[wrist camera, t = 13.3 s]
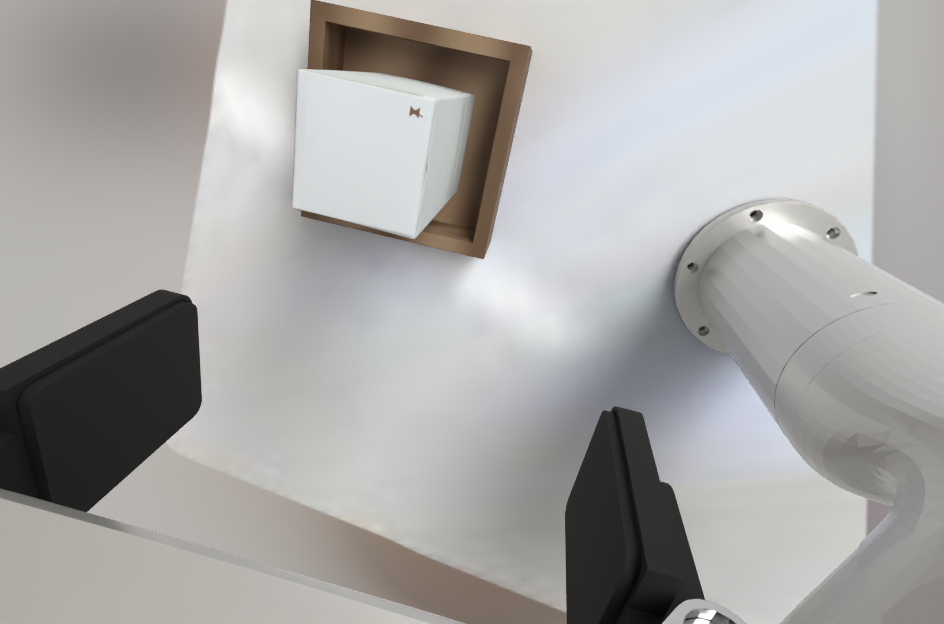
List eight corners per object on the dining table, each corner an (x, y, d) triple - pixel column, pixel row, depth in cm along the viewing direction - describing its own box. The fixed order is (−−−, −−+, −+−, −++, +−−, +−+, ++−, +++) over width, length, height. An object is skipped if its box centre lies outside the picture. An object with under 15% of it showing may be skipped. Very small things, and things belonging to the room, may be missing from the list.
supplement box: (377, 69, 35) (294, 60, 24) (478, 94, 35) (442, 96, 23) (365, 173, 38) (286, 209, 27) (457, 196, 38) (417, 242, 27)
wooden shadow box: (532, 51, 34) (530, 46, 30) (490, 241, 40) (483, 259, 36) (338, 9, 35) (310, -1, 31) (325, 203, 41) (301, 215, 37)
